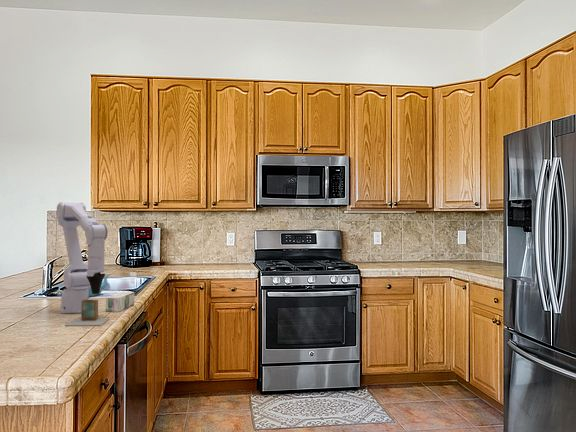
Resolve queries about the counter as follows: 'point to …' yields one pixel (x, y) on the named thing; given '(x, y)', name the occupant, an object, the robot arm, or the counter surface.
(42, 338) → the counter surface
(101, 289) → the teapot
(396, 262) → the counter surface
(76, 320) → the grey mat
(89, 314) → the walnut slab
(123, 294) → the syrup box
